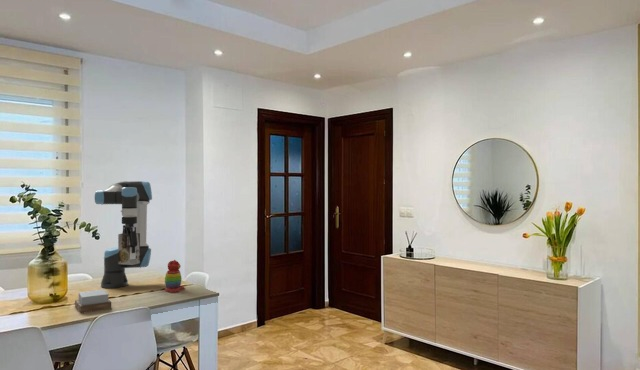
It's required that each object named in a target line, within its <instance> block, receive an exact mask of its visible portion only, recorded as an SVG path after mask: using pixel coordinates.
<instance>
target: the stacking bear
mask: <svg viewBox="0 0 640 370" xmlns="http://www.w3.org/2000/svg"><path fill="white" fill-rule="evenodd" d="M180 268H181V263H179V262H178V261H177V260H176V259H174V260H171V261H169V262H168V263H167V269H168V270H167V271H166V273H165V277H164V285H165V289H164V291H165V292H166V293H173V294H177V293H180V291H184V290H185V289H186V287H185V286H183V285H182V275H181V271H180Z"/></svg>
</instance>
